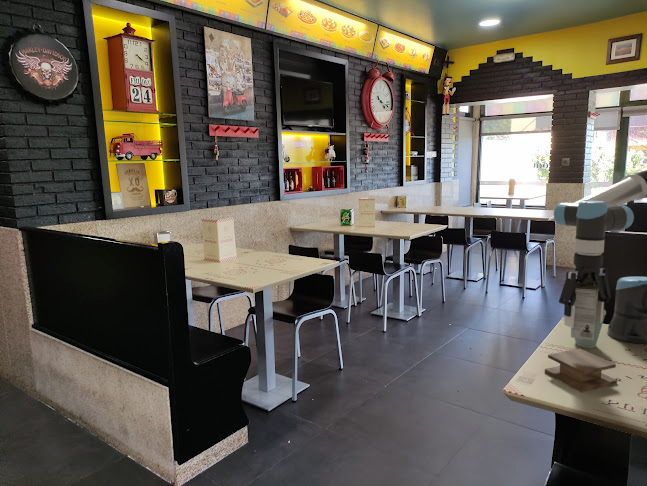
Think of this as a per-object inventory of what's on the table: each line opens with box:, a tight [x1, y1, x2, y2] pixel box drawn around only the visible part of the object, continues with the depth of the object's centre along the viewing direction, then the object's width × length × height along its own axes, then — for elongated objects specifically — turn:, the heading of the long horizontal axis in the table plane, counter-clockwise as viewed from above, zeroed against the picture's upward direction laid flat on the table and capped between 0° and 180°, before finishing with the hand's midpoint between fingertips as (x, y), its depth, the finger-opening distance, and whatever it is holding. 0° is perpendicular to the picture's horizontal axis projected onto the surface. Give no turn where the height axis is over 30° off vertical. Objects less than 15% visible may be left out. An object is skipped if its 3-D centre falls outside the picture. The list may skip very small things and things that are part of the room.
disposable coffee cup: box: [574, 308, 607, 349], centre depth 167 cm, size 11×11×15 cm
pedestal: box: [544, 348, 618, 393], centre depth 143 cm, size 14×14×6 cm
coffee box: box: [570, 283, 598, 340], centre depth 140 cm, size 9×6×16 cm
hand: (583, 323), depth 140 cm, fingers closed on coffee box, 11 cm apart
